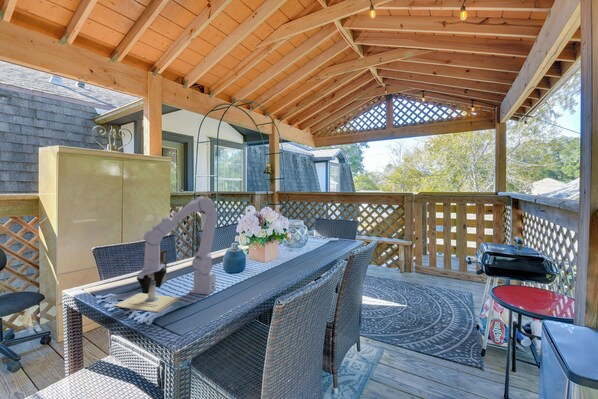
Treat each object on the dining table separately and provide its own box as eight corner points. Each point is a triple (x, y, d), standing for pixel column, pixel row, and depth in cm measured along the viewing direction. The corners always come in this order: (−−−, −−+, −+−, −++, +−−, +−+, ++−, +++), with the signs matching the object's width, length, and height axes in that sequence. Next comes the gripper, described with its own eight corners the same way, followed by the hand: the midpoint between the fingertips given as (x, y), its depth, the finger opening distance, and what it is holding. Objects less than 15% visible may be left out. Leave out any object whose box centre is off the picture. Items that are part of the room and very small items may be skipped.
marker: (157, 298, 123) (157, 280, 123) (152, 301, 120) (152, 282, 120) (150, 297, 124) (151, 279, 123) (146, 300, 121) (146, 281, 120)
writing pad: (180, 298, 125) (180, 297, 125) (158, 312, 111) (158, 311, 111) (139, 293, 129) (139, 292, 129) (114, 306, 115) (114, 305, 115)
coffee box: (155, 280, 147) (156, 249, 146) (166, 281, 146) (167, 250, 145) (142, 286, 138) (142, 253, 137) (154, 287, 137) (154, 254, 136)
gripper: (155, 253, 129) (155, 283, 130) (131, 261, 115) (130, 295, 115) (169, 254, 128) (169, 284, 128) (146, 263, 113) (146, 297, 114)
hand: (152, 289), depth 122 cm, fingers open, 7 cm apart
